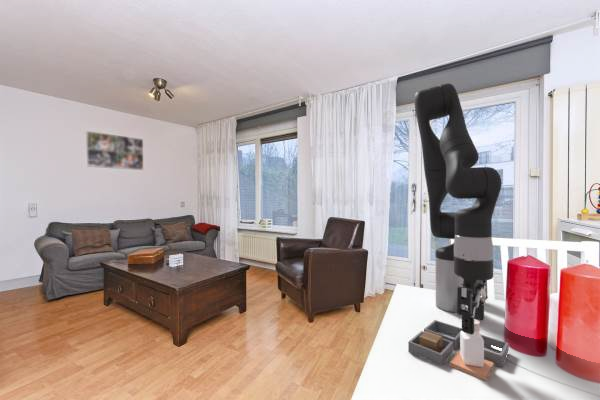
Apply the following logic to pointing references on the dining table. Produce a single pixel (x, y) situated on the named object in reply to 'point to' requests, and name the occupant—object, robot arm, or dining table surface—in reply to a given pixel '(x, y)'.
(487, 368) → the terracotta pad
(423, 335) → the walnut cube
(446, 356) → the bin with cube
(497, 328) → the dining table surface
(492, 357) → the shaker bin
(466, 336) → the salt shaker
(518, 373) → the dining table surface
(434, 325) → the empty bin
